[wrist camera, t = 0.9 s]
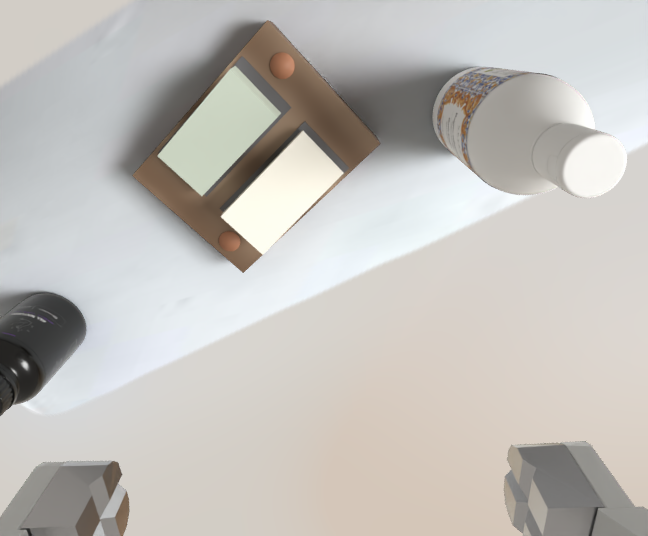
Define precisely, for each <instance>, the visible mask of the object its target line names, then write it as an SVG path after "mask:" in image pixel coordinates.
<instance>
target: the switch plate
mask: <svg viewBox="0 0 648 536" xmlns="http://www.w3.org/2000/svg"><path fill="white" fill-rule="evenodd" d="M234 66H236V67H237V68H238V69H239V70H240V71H241V72H242V73H243V74H244V75H245V76H246V77H247V78H248V79H249V80H250V81H251V82H252V83H253V85H254V86H255V87H256V88H257V89H258V90H259V91H260V92H261V93H262V94H263V95H264V96H265V97H266V98H267V99H268V100H269V101H270V102H271V103H272V104H273V105H274V106H275V107H276V108H277V109H278V110H279V111H280V112H281V114H280V115H279V116H278V117H277V118H276V119H275V121H274V122H273V123H272V124H271V125H270V126H269V127H268V128H267V129H266V130H265V131H264V132H263V133H262V134H261V135H260V136H259V137H258V138H257V139H256V140H255V141H254V142H253V144H252V145H251V146H250V147H249V148H248V149H247V150H246V151H245V152H244V153H243V154H242V155H241V156H240V157H239V158H238V159H237V160H236V161H235V162H234V163H233V164H232V166H231V167H230V168H229V169H228V170H227V171H226V172H225V173H224V174H223V175H222V176H221V177H220V178H219V179H218V180H217V181H216V182H215V183H214V184H213V185H212V186H211V187H210V189H209V190H208V191H207V192H206V193H205V194H204V195H203V196H201V195H200V194H199V193H198V192H196V191H195V190H194V189H193V188H192V187H191V186H190V185H189V184H188V183H187V182H185V181H184V180H183V179H182V178H181V177H180V176H179V175H178V174H177V173H176V172H174V171H173V170H172V169H171V168H170V167H169V166H168V165H167V164H166V163H164V162H163V161H162V160H161V159H160V158H159V157H158V154H159V153H160V152H161V151H162V150H163V149H164V147H165V146H166V145H167V144H168V143H169V141H170V140H171V139H172V138H173V137H174V135H175V134H176V133H177V132H178V131H179V129H180V128H181V127H182V126H183V125H184V123H185V122H186V121H187V120H188V119H189V117H190V116H191V115H192V114H193V113H194V111H195V110H196V109H197V108H198V107H199V106H200V104H201V103H202V102H203V101H204V100H205V98H206V97H207V96H208V95H209V94H210V92H211V91H212V90H213V89H214V88H215V86H216V85H217V84H218V83H219V82H220V80H221V79H222V78H223V77H224V76H225V74H226V73H227V72H228V71H229V70H230V69H231V68H233V67H234ZM302 130H303V131H304V132H305V133H306V134H307V135H308V136H309V137H310V138H311V139H312V140H313V141H314V142H315V143H316V145H317V146H318V147H319V148H320V149H321V150H322V151H323V152H324V153H325V154H326V155H327V156H328V157H329V158H330V159H331V160H332V161H333V162H334V163H335V164H336V165H337V166H338V167H339V168H340V169H341V170H342V172H343V174H342V175H341V176H340V177H339V179H338V180H337V181H336V182H335V183H334V184H333V185H332V186H331V187H330V188H329V189H328V190H327V191H326V192H325V193H324V194H323V195H322V196H321V197H320V198H319V199H318V200H317V201H316V202H315V203H314V204H313V205H312V206H311V207H310V208H309V209H308V210H307V211H306V212H305V213H304V214H303V215H302V216H301V217H300V218H299V219H298V220H297V221H296V222H295V223H294V224H293V225H292V226H291V227H293V226H294V225H295V224H296V223H297V222H298V221H299V220H300V219H301V218H302V217H303V216H304V215H305V214H306V213H307V212H308V211H310V210H311V209H312V208H313V207H314V206H315V205H316V204H317V203H318V202H319V201H320V200H321V199H322V198H323V197H324V196H325V195H326V194H328V193H329V192H330V191H331V190H332V189H333V188H334V187H335V186H336V185H337V184H338V183H339V182H340V181H341V180H342V179H343V178H345V177H346V176H347V175H348V174H349V173H350V172H351V171H352V170H353V169H354V168H355V167H356V166H357V165H358V164H359V163H360V162H361V161H363V160H364V159H365V158H366V157H367V156H368V155H369V154H370V153H371V152H372V151H373V150H374V149H375V148H376V147H377V146H378V145H380V143H379V141H378V139H377V137H376V136H375V135H374V134H373V133H372V131H371V130H370V129H369V128H368V127H367V126H366V125H365V124H364V123H363V122H362V120H361V119H360V118H359V117H358V116H357V115H356V114H355V113H354V112H353V111H352V109H351V108H350V107H349V106H348V105H347V104H346V103H345V102H344V101H343V100H342V98H341V97H340V96H339V95H338V94H337V93H336V92H335V91H334V90H333V89H332V87H331V86H330V85H329V84H328V83H327V82H326V81H325V80H324V79H323V78H322V76H321V75H320V74H319V73H318V72H317V71H316V70H315V69H314V68H313V67H312V65H311V64H310V63H309V62H308V61H307V60H306V59H305V58H304V57H303V56H302V54H301V53H300V52H299V51H298V50H297V49H296V48H295V47H294V46H293V45H292V43H291V42H290V41H289V40H288V39H287V38H286V37H285V36H284V35H283V34H282V32H281V31H280V30H279V29H278V28H277V27H276V26H275V25H274V24H273V23H272V22H271V21H268V20H267V21H266V23H265V24H264V25H263V26H262V27H261V28H260V29H259V31H258V32H257V33H256V34H255V35H254V36H253V37H252V39H251V40H250V41H249V42H248V43H247V44H246V46H245V47H244V48H243V49H242V50H241V51H240V52H239V54H238V55H237V56H236V57H235V58H234V59H233V60H232V62H231V63H230V64H229V65H228V66H227V67H226V68H225V70H224V71H223V72H222V73H221V74H220V75H219V77H218V78H217V79H216V80H215V81H214V82H213V83H212V85H211V86H210V87H209V88H208V89H207V90H206V91H205V93H204V94H203V95H202V96H201V97H200V98H199V100H198V101H197V102H196V103H195V104H194V105H193V106H192V108H191V109H190V110H189V111H188V112H187V113H186V114H185V116H184V117H183V118H182V119H181V120H180V121H179V123H178V124H177V125H176V126H175V127H174V128H173V129H172V131H171V132H170V133H169V134H168V135H167V136H166V137H165V139H164V140H163V141H162V142H161V143H160V144H159V146H158V147H157V148H156V149H155V150H154V151H153V152H152V154H151V155H150V156H149V157H148V158H147V159H146V160H145V162H144V163H143V164H142V165H141V166H140V167H139V168H138V170H137V171H136V172H135V173H134V174H133V175H132V176H133V177H134V178H135V179H137V180H138V181H139V182H140V183H141V184H142V185H143V186H145V187H146V188H147V189H148V190H149V191H150V192H151V193H153V194H154V195H155V196H156V197H157V198H158V199H159V200H161V201H162V202H163V203H164V204H165V205H166V206H167V207H169V208H170V209H171V210H172V211H173V212H174V213H175V214H177V215H178V216H179V217H180V218H181V219H182V220H183V221H185V222H186V223H187V224H188V225H189V226H190V227H191V228H192V229H194V230H195V231H196V232H197V233H198V234H199V235H200V236H202V237H203V238H204V239H205V240H206V241H207V242H208V243H210V244H211V245H212V246H213V247H214V248H215V249H216V250H218V251H219V252H220V253H221V254H222V255H223V256H224V257H226V258H227V259H228V260H229V261H230V262H231V263H232V264H234V265H235V266H236V267H237V268H238V269H239V270H240V271H242V272H243V273H244V272H245V271H246V270H247V269H248V268H249V267H250V266H251V265H252V264H253V263H254V262H255V261H256V260H258V259H259V258H260V257H261V256H262V254H261V253H260V252H259V251H258V250H257V249H256V248H255V247H253V246H252V245H251V244H250V243H249V242H248V241H247V240H246V239H245V238H244V237H242V236H241V235H240V234H239V233H238V232H237V231H236V230H235V229H234V228H232V227H231V226H230V225H229V224H228V223H227V222H226V221H225V220H224V219H223V218H221V215H222V213H223V212H224V211H225V210H226V209H227V208H228V207H229V206H230V205H231V204H232V203H233V202H234V201H235V200H236V199H237V198H238V196H239V195H240V194H241V193H242V192H243V191H244V190H245V189H246V188H247V187H248V186H249V185H250V184H251V183H252V182H253V181H254V180H255V179H256V178H257V177H258V176H259V175H260V174H261V172H262V171H263V170H264V169H265V168H266V167H267V166H268V165H269V164H270V163H271V162H272V161H273V160H274V159H275V158H276V157H277V156H278V155H279V154H280V153H281V152H282V151H283V150H284V148H285V147H286V146H287V145H288V144H289V143H290V142H291V141H292V140H293V139H294V138H295V137H296V136H297V135H298V134H299V133H300V132H301V131H302ZM291 227H290V228H291ZM290 228H289V229H290ZM289 229H288V230H289ZM288 230H287V231H288ZM287 231H286V232H287ZM286 232H285V233H286ZM285 233H284V234H285ZM284 234H283V235H284ZM283 235H282V236H283ZM282 236H281V237H282ZM281 237H280V238H281ZM280 238H279V239H280ZM279 239H278V240H279ZM278 240H277V241H278ZM277 241H276V242H277ZM276 242H275V243H276Z"/></svg>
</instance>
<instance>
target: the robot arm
mask: <svg viewBox="0 0 648 536" xmlns="http://www.w3.org/2000/svg"><path fill="white" fill-rule="evenodd" d="M507 460H508V463H509V465H510V467H511V469H512V470H511V471H510V472H509V473H508V474H507V475H506V476H505V481H504V496H505V504H506V507H507V511H508V514H509V517H510V519H511V522H512V524H513V526H514V527H516V528H517V529H518V530H519V531H520V532H522V533H523V536H648V510H647V509H646V508H644V507H635V506H634V504H633V503H632V502H631V500H630V499H629V497H628V496H627V495H626V493H625V492H624V491H623V489H622V488H621V486H620V485H619V484H618V482H617V481H616V479H615V478H614V476H613V475H612V474H611V472H610V471H609V470H608V468H607V467H606V466H605V464H604V463H603V461H602V460H601V458H600V457H599V456H598V454H597V453H596V452H595V450H594V449H593V447H592V446H591V445H590V444H589V443H587V442H586V441H580V442H561V443H544V444H524V445H511V447H510V449H509V451H508V457H507ZM121 476H122V473H121V470H120V467H119V463H118V462H115V461H70V462H69V461H68V462H43V463H41V464H40V465H38V466H37V467H36V468H35V469H34V470H33V472H32V473H31V474H30V476H29V477H28V479H27V480H26V481H25V483H24V484H23V486H22V487H21V489H20V490H19V491H18V493H17V494H16V495H15V497H14V498H13V500H12V501H11V503H10V504H9V505H8V507H7V508H6V510H5V511H4V512H3V514H2V515H1V517H0V536H123V534H124V532H125V529H126V526H127V522H128V516H129V498H128V494H127V491H126V490H125V489H124V488H123V487H122V486H120V485H119V484H118V482H119V480H120V478H121Z"/></svg>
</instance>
